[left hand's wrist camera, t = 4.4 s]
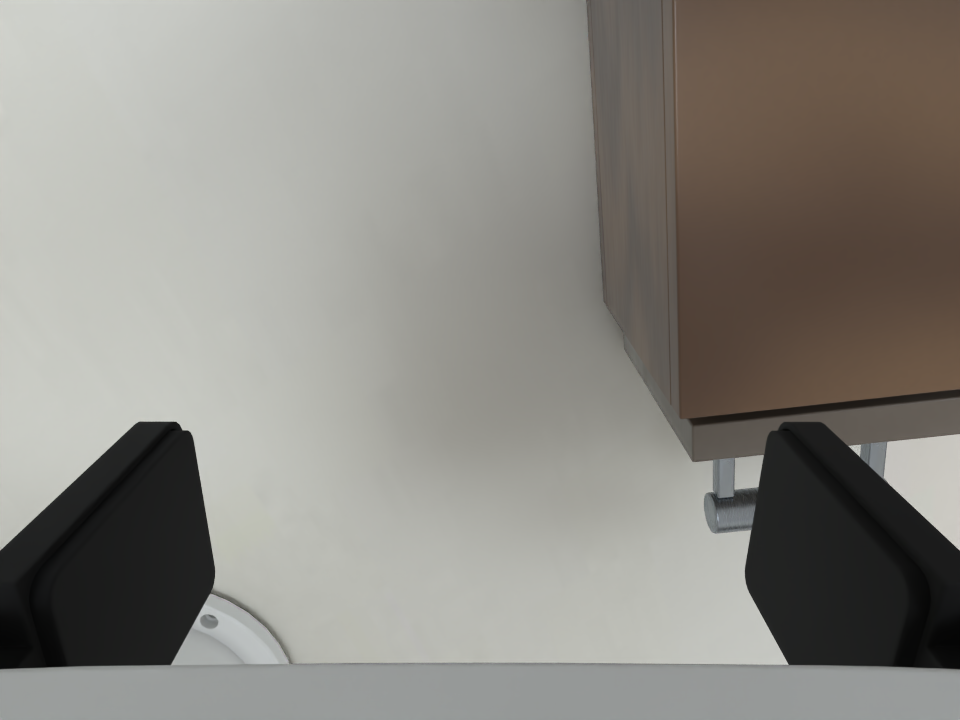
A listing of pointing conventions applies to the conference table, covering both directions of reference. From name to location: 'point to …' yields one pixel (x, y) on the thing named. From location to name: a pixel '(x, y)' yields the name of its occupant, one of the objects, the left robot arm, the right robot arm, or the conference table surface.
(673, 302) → the cabinet
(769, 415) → the drawer
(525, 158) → the conference table surface
